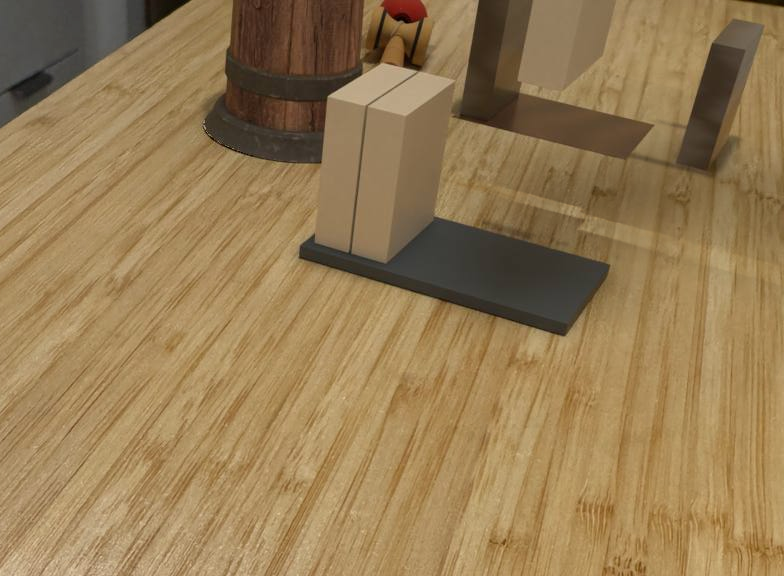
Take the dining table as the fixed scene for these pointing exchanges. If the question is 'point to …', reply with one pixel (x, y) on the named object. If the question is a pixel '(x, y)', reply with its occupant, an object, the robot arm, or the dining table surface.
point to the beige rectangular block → (564, 40)
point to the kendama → (400, 31)
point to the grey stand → (589, 127)
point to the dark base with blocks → (426, 210)
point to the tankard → (285, 75)
